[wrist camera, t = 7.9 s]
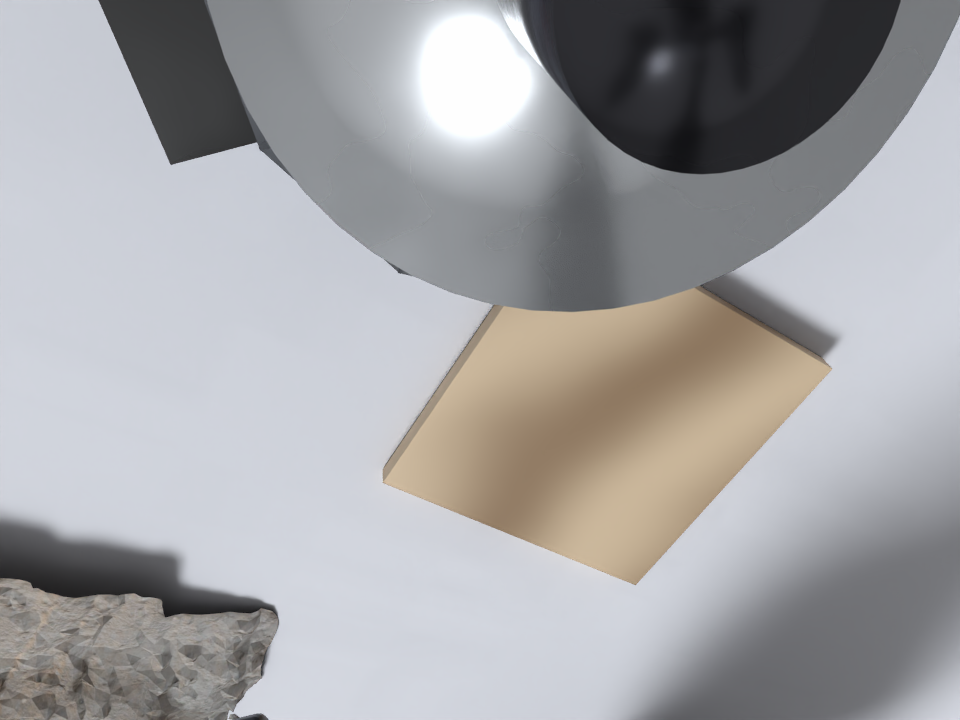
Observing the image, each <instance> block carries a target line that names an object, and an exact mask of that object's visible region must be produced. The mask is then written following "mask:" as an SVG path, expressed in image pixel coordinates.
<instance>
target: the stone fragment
mask: <svg viewBox="0 0 960 720" xmlns="http://www.w3.org/2000/svg"><path fill="white" fill-rule="evenodd" d="M277 627H278V618H277V615H276V614H275V613H274V612H273V611H270V610H266V609H262V608H260V609H259V610H258V611H256V612H253V613H236V612H225V613H217V614H204V615H192V614H178V615H173V616H170V617H166V618H165V616H164V613H163V608H162V600H161V599H157V598H151V597H144V598H142V597H141V596H139V595H137V594H135V593H132V594H123V595H118V596H116V595H92V596H86V597H79V598H70V597H63V596H59V595H56V594H53V593H46V592H44V591H42V590H40V589H38V588H33V587H32V585H31V583H29V582H27V581H23V580H20V579H6V578H1V579H0V720H227V715H228V711H229V710H231V711H234V709H235V707H236V704H237V703H238V702H239V701H240V700H241V699H242V698H243V697H244V694H245V693H246V691H247V690H248V689H249V688H251V687H252V686H253V684H256V683H257V682H258V681H259V680H260V679H261V678H262V677H261V665H262V662H263V660H264V654H265V652H266V650H267V647H268V646H269V645H270V644H271V642H272V640H273V638H274V635H275V633H276V630H277ZM237 718H239V717H237V716H236V715H235V714H230V717H229V719H232V720H234V719H237Z"/></svg>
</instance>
